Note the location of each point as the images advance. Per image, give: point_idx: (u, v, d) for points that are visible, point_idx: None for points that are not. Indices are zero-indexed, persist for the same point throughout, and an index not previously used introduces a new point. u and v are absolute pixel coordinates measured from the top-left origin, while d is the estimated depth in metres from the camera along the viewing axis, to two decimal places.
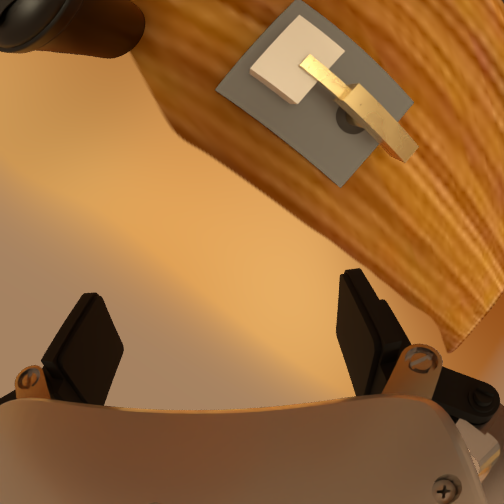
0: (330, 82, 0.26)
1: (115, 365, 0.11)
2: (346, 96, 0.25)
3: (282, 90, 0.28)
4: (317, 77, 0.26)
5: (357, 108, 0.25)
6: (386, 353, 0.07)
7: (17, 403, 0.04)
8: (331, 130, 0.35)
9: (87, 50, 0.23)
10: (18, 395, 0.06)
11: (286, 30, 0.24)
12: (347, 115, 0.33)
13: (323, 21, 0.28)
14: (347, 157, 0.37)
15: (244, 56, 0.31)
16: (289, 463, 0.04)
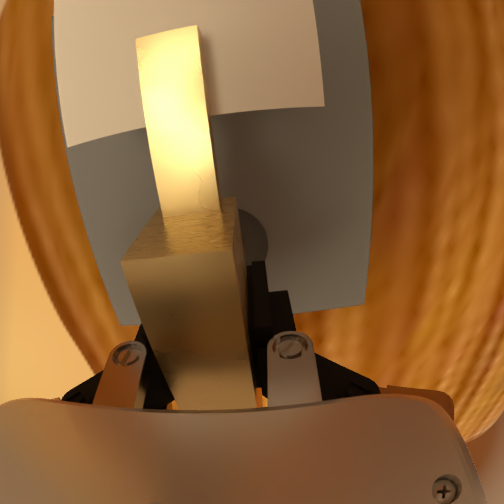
0: (174, 156, 0.07)
1: None
2: (147, 253, 0.06)
3: (61, 86, 0.07)
4: (148, 111, 0.07)
5: (156, 316, 0.07)
6: (260, 337, 0.09)
7: (17, 403, 0.04)
8: None
9: None
10: (107, 368, 0.07)
11: None
12: None
13: (355, 35, 0.12)
14: None
15: None
16: (289, 463, 0.04)
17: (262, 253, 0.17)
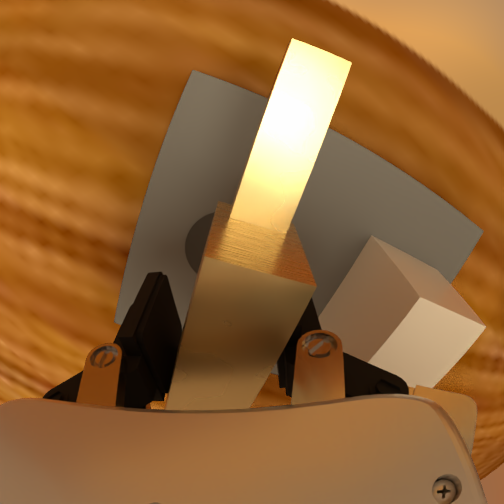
0: (271, 168, 0.08)
1: (177, 344, 0.12)
2: (232, 258, 0.06)
3: (446, 311, 0.12)
4: (269, 113, 0.07)
5: (207, 318, 0.07)
6: None
7: (17, 403, 0.04)
8: None
9: None
10: (85, 371, 0.07)
11: None
12: None
13: None
14: (203, 152, 0.14)
15: None
16: (289, 463, 0.04)
17: None
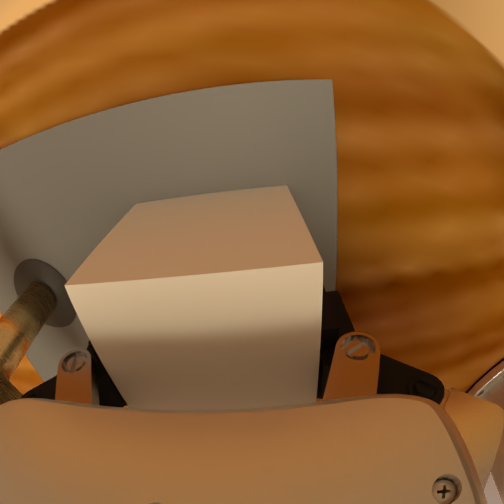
0: None
1: None
2: None
3: (139, 284, 0.06)
4: None
5: None
6: (325, 339, 0.08)
7: (17, 403, 0.04)
8: (34, 239, 0.12)
9: None
10: (59, 377, 0.07)
11: None
12: None
13: None
14: None
15: (332, 215, 0.12)
16: (289, 463, 0.04)
17: (49, 321, 0.15)
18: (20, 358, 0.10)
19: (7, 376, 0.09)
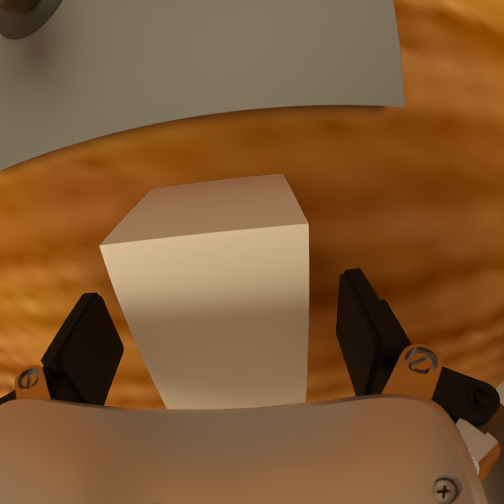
0: None
1: (115, 365, 0.11)
2: None
3: (164, 242, 0.08)
4: None
5: None
6: (386, 353, 0.07)
7: (17, 403, 0.04)
8: None
9: None
10: (18, 395, 0.06)
11: (302, 367, 0.11)
12: None
13: (296, 91, 0.10)
14: None
15: None
16: (289, 463, 0.04)
17: (19, 34, 0.08)
18: None
19: None
